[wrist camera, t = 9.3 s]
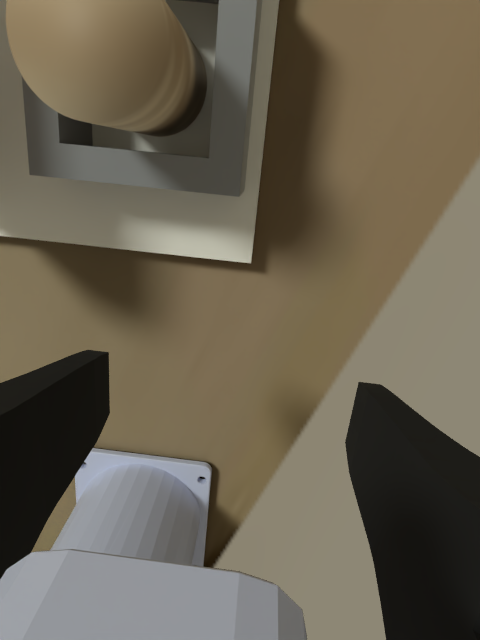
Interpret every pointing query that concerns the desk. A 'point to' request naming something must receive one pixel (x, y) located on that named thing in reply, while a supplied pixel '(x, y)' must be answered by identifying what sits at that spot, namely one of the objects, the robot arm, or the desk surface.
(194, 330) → the desk surface
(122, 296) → the desk surface
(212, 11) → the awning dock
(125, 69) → the maple peg
